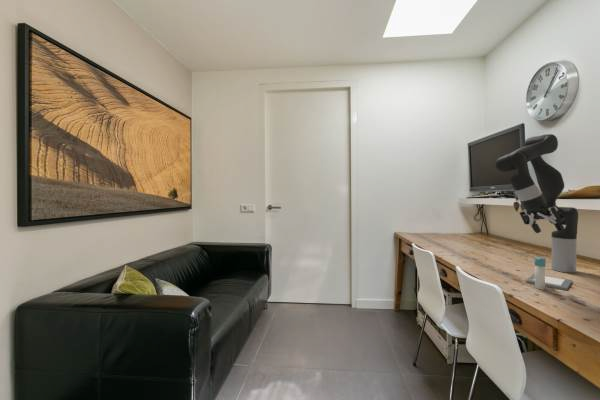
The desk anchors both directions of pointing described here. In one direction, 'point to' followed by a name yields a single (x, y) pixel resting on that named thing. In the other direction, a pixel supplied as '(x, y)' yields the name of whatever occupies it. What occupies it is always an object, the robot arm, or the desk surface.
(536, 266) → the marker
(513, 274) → the desk surface
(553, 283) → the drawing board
